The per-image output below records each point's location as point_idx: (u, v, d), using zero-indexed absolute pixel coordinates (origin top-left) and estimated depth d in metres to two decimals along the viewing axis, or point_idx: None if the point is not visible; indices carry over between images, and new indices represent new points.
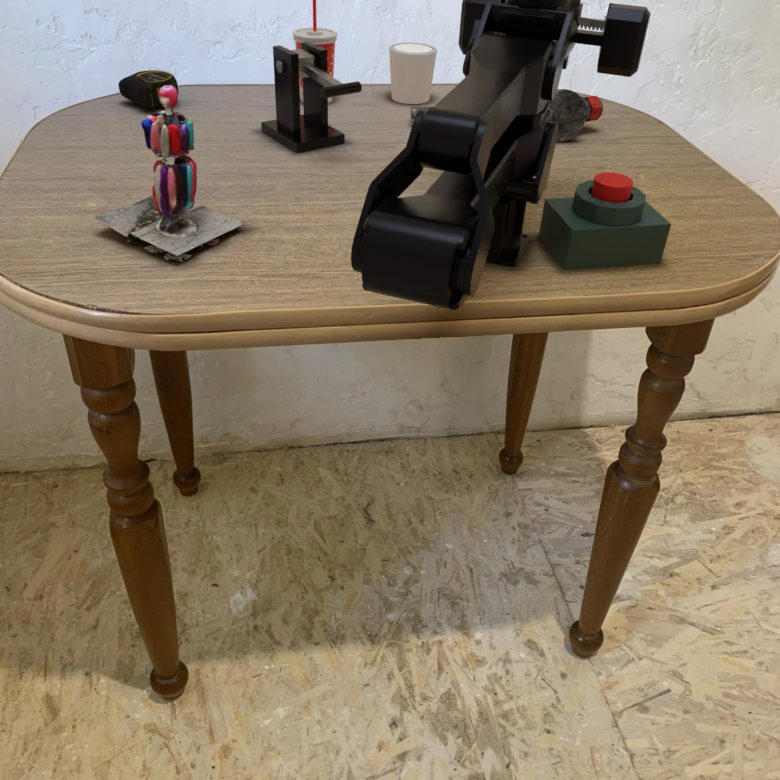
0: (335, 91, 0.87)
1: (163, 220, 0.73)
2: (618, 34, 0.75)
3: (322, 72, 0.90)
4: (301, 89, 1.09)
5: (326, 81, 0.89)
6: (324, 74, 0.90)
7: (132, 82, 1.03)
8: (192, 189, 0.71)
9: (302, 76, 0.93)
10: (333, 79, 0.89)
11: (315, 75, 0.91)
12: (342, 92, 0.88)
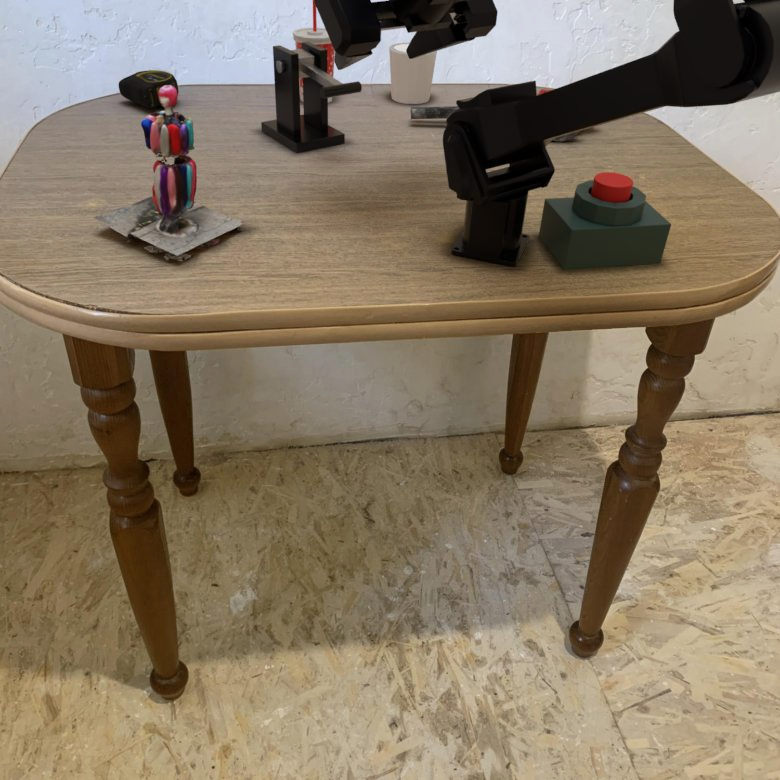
0: (335, 91, 0.87)
1: (163, 220, 0.73)
2: None
3: (322, 72, 0.90)
4: (301, 89, 1.09)
5: (326, 81, 0.89)
6: (324, 74, 0.90)
7: (132, 83, 1.03)
8: (192, 189, 0.71)
9: (302, 76, 0.93)
10: (333, 79, 0.89)
11: (315, 75, 0.91)
12: (342, 92, 0.88)
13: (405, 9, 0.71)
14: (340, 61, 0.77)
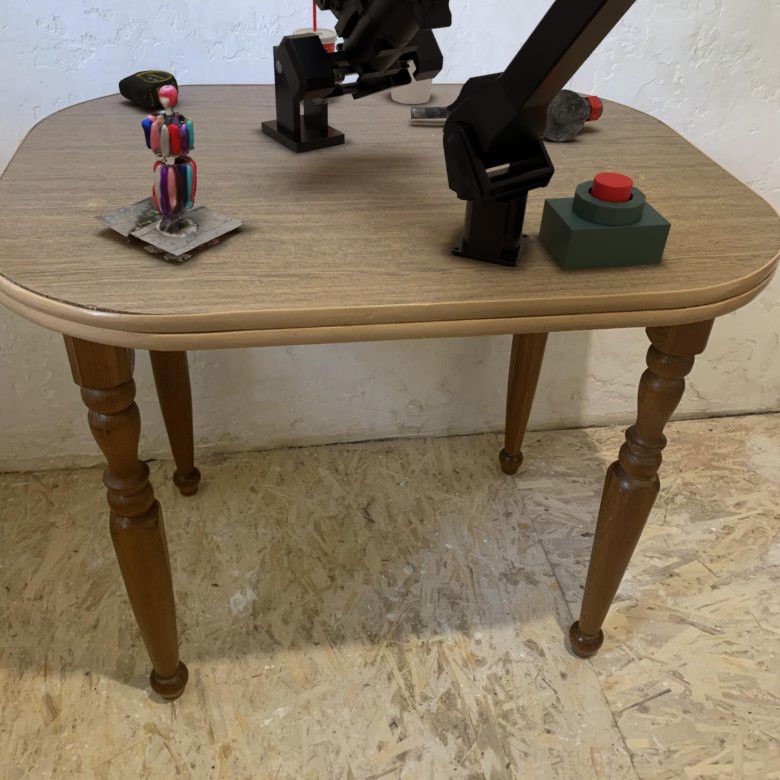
0: None
1: (163, 220, 0.73)
2: (419, 33, 0.85)
3: None
4: None
5: None
6: None
7: (132, 83, 1.03)
8: (192, 189, 0.71)
9: None
10: None
11: None
12: None
13: (357, 58, 0.79)
14: (316, 99, 0.87)
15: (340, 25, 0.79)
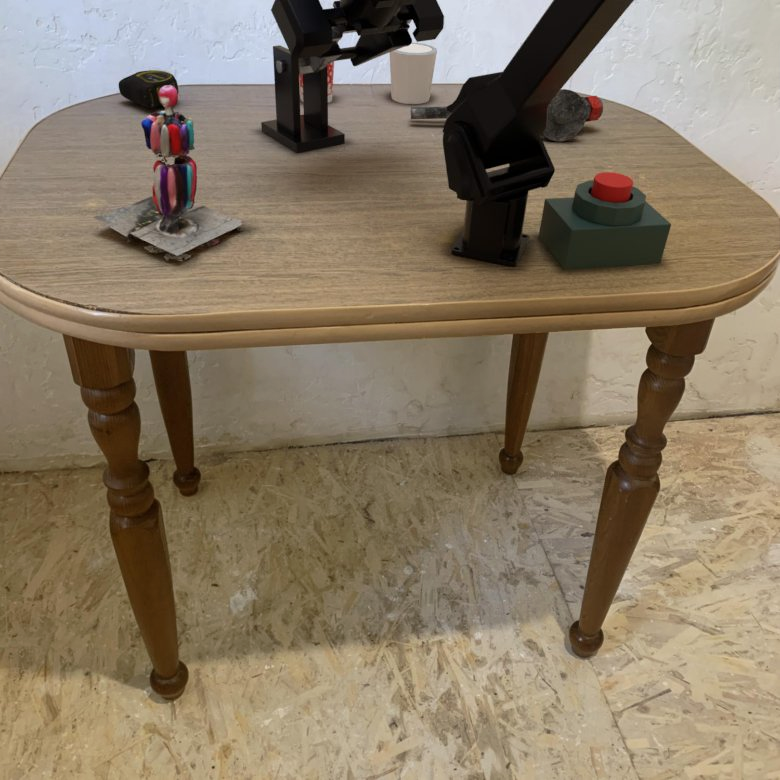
0: None
1: (163, 220, 0.73)
2: None
3: None
4: (301, 89, 1.09)
5: None
6: None
7: (132, 83, 1.03)
8: (192, 189, 0.71)
9: (303, 71, 0.92)
10: None
11: None
12: None
13: (355, 14, 0.77)
14: (315, 64, 0.85)
15: None
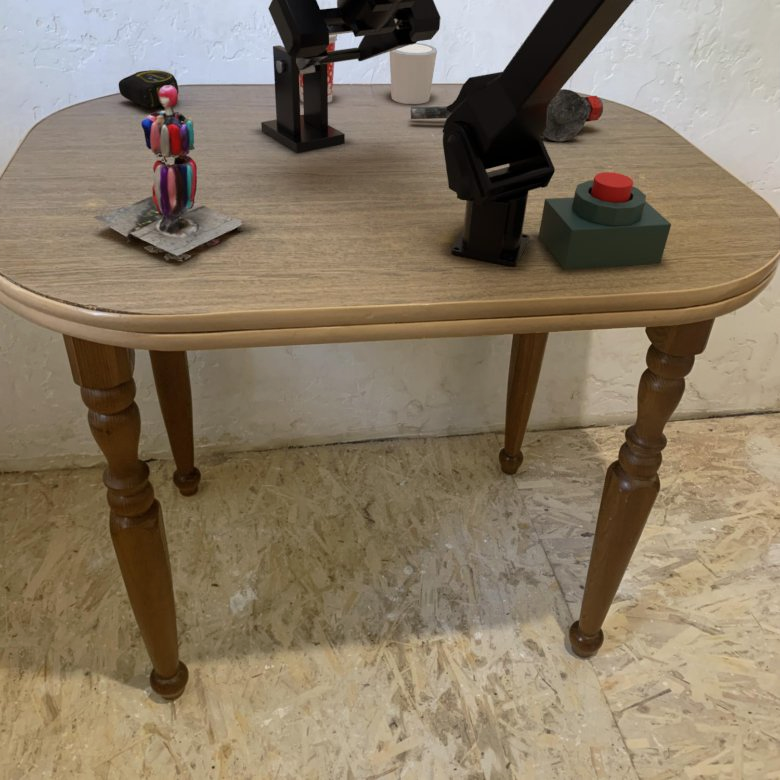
0: (332, 54, 0.85)
1: (163, 220, 0.73)
2: None
3: None
4: (301, 89, 1.09)
5: None
6: None
7: (132, 83, 1.03)
8: (192, 189, 0.71)
9: (303, 71, 0.92)
10: None
11: None
12: (340, 56, 0.86)
13: (352, 15, 0.78)
14: (301, 62, 0.84)
15: None
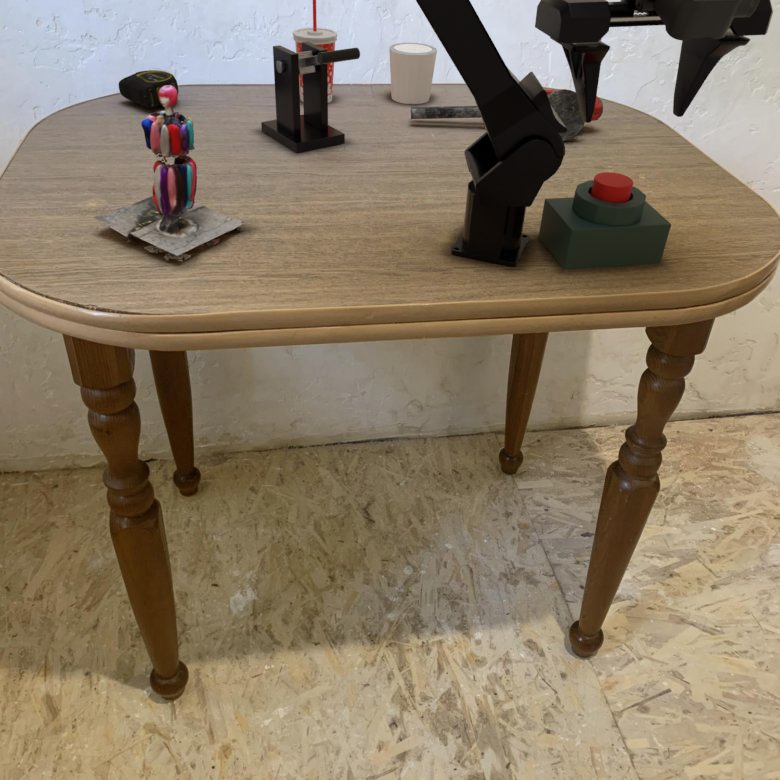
0: (332, 54, 0.85)
1: (163, 220, 0.73)
2: None
3: None
4: (301, 89, 1.09)
5: None
6: None
7: (132, 82, 1.03)
8: (192, 189, 0.71)
9: (303, 71, 0.92)
10: None
11: (314, 59, 0.90)
12: (340, 56, 0.86)
13: None
14: None
15: None
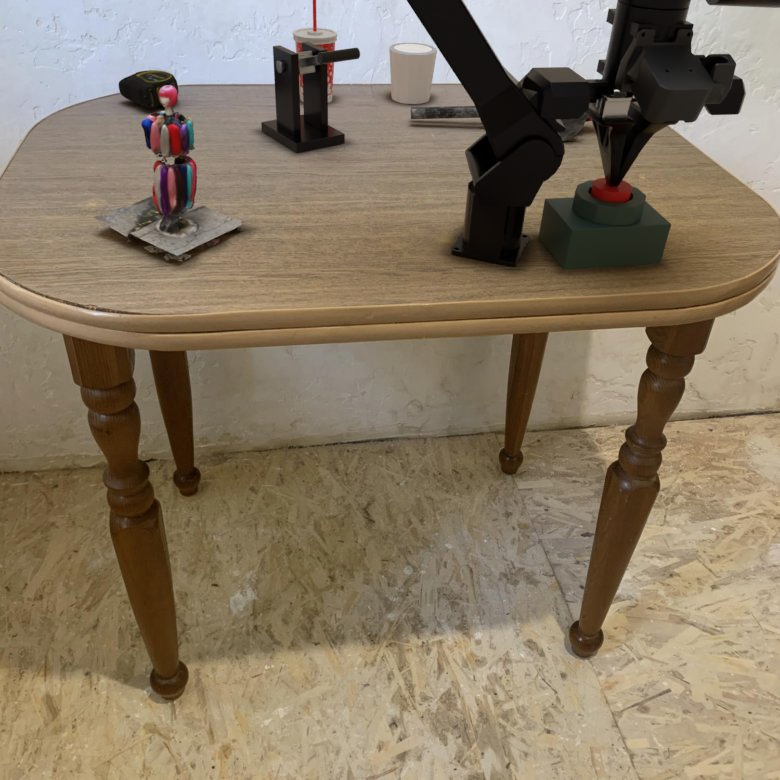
0: (332, 54, 0.85)
1: (163, 220, 0.73)
2: (566, 77, 0.64)
3: None
4: (301, 89, 1.09)
5: None
6: None
7: (132, 82, 1.03)
8: (192, 189, 0.71)
9: (303, 71, 0.92)
10: None
11: (314, 59, 0.90)
12: (340, 56, 0.86)
13: None
14: None
15: None
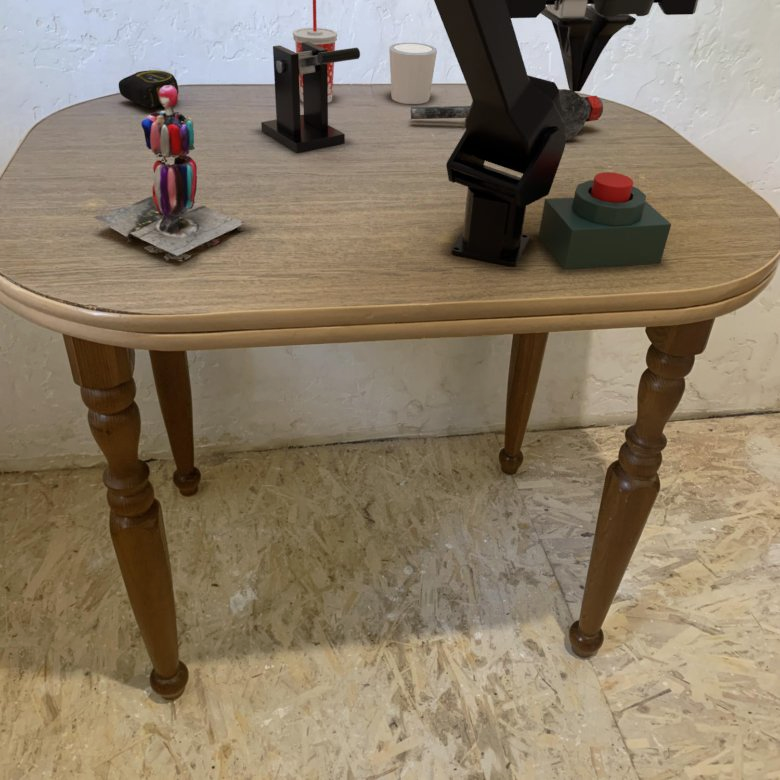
0: (332, 54, 0.85)
1: (163, 220, 0.73)
2: None
3: None
4: (301, 89, 1.09)
5: None
6: None
7: (132, 83, 1.03)
8: (192, 189, 0.71)
9: (303, 71, 0.92)
10: None
11: (314, 59, 0.90)
12: (340, 56, 0.86)
13: None
14: None
15: None
